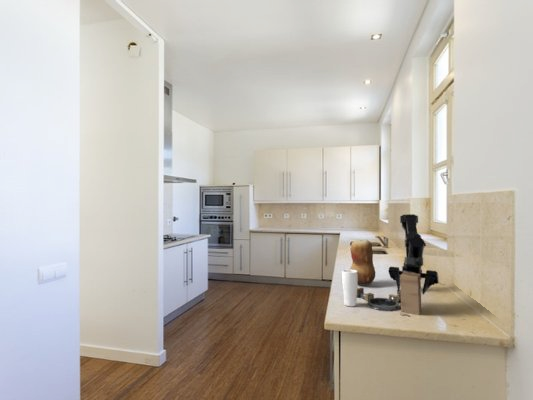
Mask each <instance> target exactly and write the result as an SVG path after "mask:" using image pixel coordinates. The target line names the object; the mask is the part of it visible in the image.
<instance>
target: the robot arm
mask: <svg viewBox="0 0 533 400" xmlns="http://www.w3.org/2000/svg"><path fill="white" fill-rule="evenodd" d="M399 222H400V224H401V227H402V229H403V231H404V236H405V239H404V248H405V257H404V260H403V261H404V262H403V263H402V264H403V266H402V267H401V269H400V267H399V266H390V267H388V270H387V271H388V274H389V278H390V279H392V280H393V281H395V282H396V286H397V287H396V288H397V290H398V291H399V290H401V286H400V275H401V274H402V273H403V272H408V273H417V274H420V278H421V279H422V280H423V279H424V282H423V285H422V286H423V287H422V290H421V295H425V293H426V292H427V291H428V289H429V288H431V287H432V286H435V285H438V284H439V273H438V272H437V271H436V270H432V269H431V270H430V269H426V272H425V273H424V272H423V269H422V267H423V266H424V257H423V256H424V250H425V249H424V248H426V246H427V245H426V244H427V243H426V242H425V240H424V239H423V238H422V236H421V234H419V233H418V230H417V224H419V216H418V215H416V214H410V213H409V214H407V213H406V214H402V215H400V216H399Z"/></svg>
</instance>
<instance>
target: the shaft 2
mask: <svg viewBox="0 0 533 400" xmlns="http://www.w3.org/2000/svg"><path fill="white" fill-rule="evenodd" d="M388 299H392V300H395V301H397V302H398V303H399V304H400V302H401V289H400V290H399V291H398V289H397V290H396V294H393V293H392V294H388Z"/></svg>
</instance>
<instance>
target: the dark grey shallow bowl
mask: <svg viewBox="0 0 533 400" xmlns="http://www.w3.org/2000/svg"><path fill="white" fill-rule="evenodd" d="M366 306H367V307H369V309H373V310H376V311H382V312H394V311H398V310H400V309H401V305H400V302H399V303H398V302H397V301H395V300H392V299H389V298H387V297H374V298H371V299H368V302H367V303H366Z"/></svg>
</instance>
